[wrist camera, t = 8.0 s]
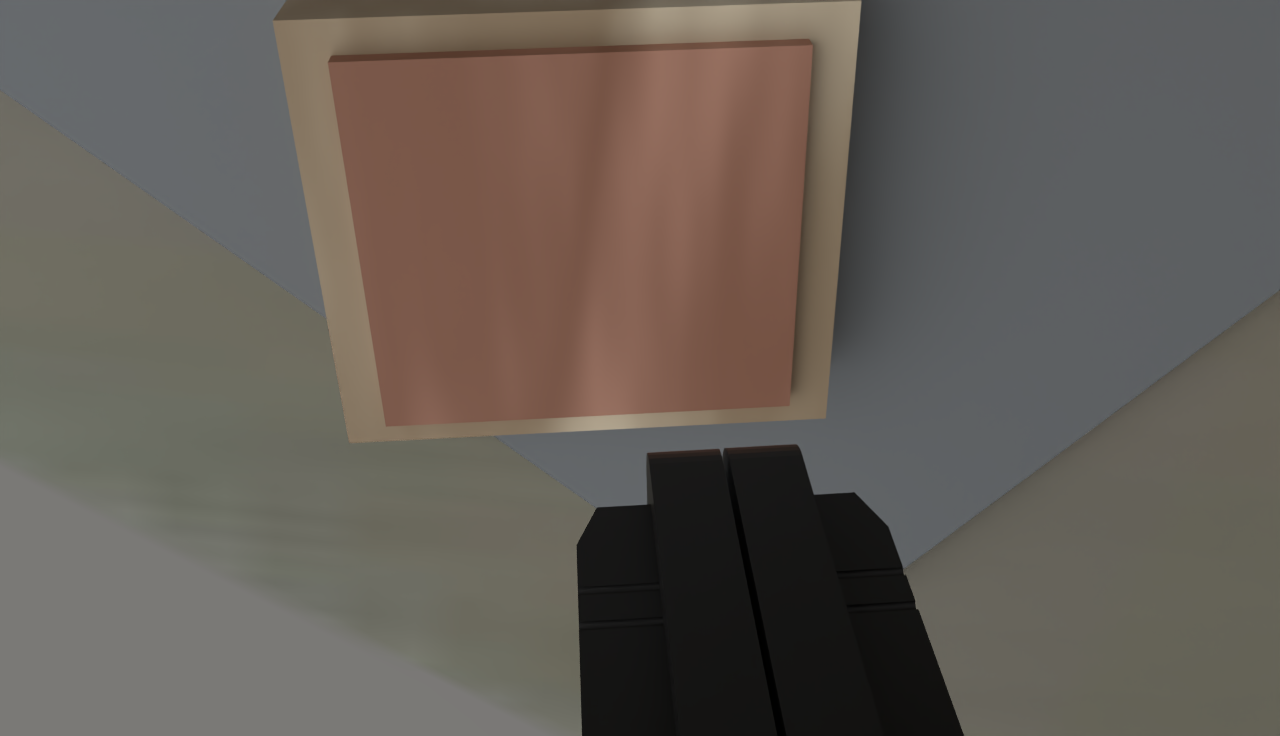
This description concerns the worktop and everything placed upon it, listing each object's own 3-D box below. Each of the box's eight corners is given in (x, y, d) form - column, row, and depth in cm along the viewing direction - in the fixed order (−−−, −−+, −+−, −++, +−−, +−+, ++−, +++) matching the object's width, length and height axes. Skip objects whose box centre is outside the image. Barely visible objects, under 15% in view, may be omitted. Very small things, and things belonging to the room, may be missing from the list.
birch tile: (807, 368, 21) (361, 390, 21) (837, -29, 18) (293, -11, 17) (829, 428, 20) (346, 453, 19) (866, 6, 16) (268, 27, 16)
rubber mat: (-115, -7, 17) (-128, 0, 17) (584, -1097, 12) (584, -1119, 12) (792, 635, 25) (796, 648, 25) (1436, 153, 20) (1450, 162, 20)
